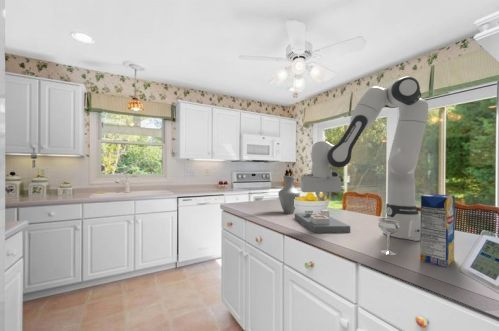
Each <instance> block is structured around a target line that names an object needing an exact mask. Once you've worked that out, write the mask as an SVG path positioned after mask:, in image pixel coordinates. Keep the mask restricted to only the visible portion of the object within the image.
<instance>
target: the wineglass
mask: <svg viewBox="0 0 499 331" xmlns="http://www.w3.org/2000/svg"><path fill="white" fill-rule="evenodd" d="M398 222H399V220H396V219H390V218H387V217H380V218H378V225H377V226H378V229H379V230H380V231H381V232H382V233H383V232H384V233H386V234H385V235H386V236H387V238H386V239H387V249H382V250H380V252H381V253H382V254H383V255H390V256H395V255H397V253H396V252H394V251H392V250H390V238H391V236H390V235H391V234H394V233H396V232H397V231H398V230H399V224H398ZM384 233H383V234H384Z"/></svg>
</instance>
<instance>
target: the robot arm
mask: <svg viewBox="0 0 499 331" xmlns="http://www.w3.org/2000/svg"><path fill="white" fill-rule="evenodd" d="M421 97H422V93H421V86H420V84H419V81H418V80H417V79H416V78H415V77H412V76H404V77H401V78H399V79H397V80H396V81H394V82H392V83H390V85H388V87H386V88H383V87H379V86H371V87H369V88H368V89H367V90H366V91H365V93H363V95H362V97H361V98H360V99H359V101H358V102H357V103H356V105H355V107H354V108H353V111H352V113H351V116H350V121H349V124H348V127H347V129H346V130H345V132H344V134H343V136H342V137H341V139H340V140H339V141H338V142H337V144H332V143H330V142H328V141H327V140H323V141H317V142H315V143H314V144H313V145H312V146H311V162H312V164H311V173H303V174H302V175H301V176H300V182H301V183H300V191H301V192H302V193H315V196H316V197H317V201H318V202H325V200H326V197H327V194H328V193H333V192H334V193H336V192H337V193H339V192H341V191H342V188H343V187H342V180H341V178H340V175H341V174H340V173H339V172H337V171H335V170H331V168H330V167H331V166H333V167H335V168H337V169H338V168H339V169H340V168H344V167H345V166H347V165H348V164H349V163H350V162H351V158H352V152H353V148H354V146H355V145H356V143H357V141H358V140H359V137H361V135H362V134H363V132H365V131H366V130H367V129H368V128H370V127H371V126H372V124H373V123H374V122H375V121H376V119H377V118H378V117H379V115H380V113H381V112H382V110H383V109H384V108H389V109H395V108H398V110H399V117H398V120H397V124H396V128H395V133H394V136H393V140H392V144H391V148H390V153H389V155H388V156H389V157H388V160H387V196H386V197H387V198H386V199H387V200H386V201H387V203H386V204H385V205H386V206H385V211H386V212H385V213H386V218H390V219H396V220H399V222H398V224H399V230H398V231H397V232H396V233H394V234H391V235H390V237H393V238H399V239H403V240H404V239H405V240H411V241H414V242H417V241H418V242H419V241H420V242H421V214H420V212H421V206H416V180H415V179H416V175H415V174H416V173H415V171H416V168H417V165H418V161H419V157H420V151H421V147H422V142H423V137H424V134H425V131H426V126H427V121H428V116H429V102H428V101H426V100H425V98H424V99H423V98H421ZM321 193H322V194H323V195H322V196H320V194H321ZM382 233H383V234H385V235H386V233H384V232H382Z"/></svg>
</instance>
